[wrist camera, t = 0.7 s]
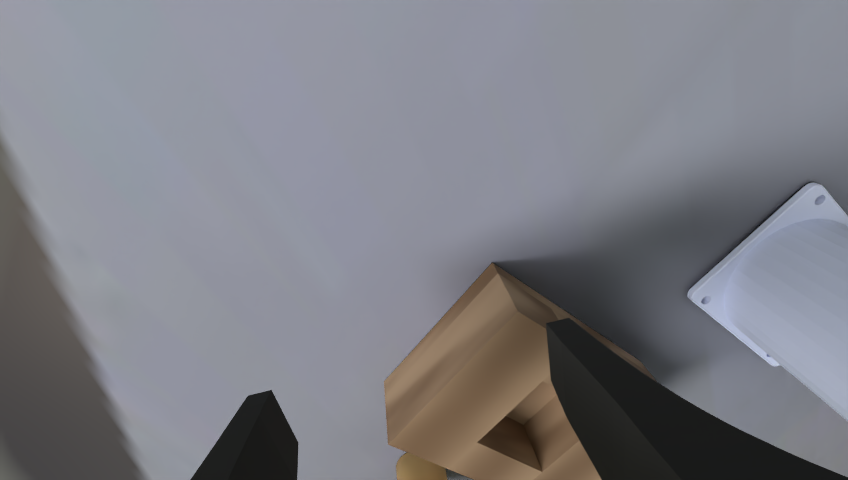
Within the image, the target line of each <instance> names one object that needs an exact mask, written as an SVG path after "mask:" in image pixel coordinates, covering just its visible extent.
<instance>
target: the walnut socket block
mask: <svg viewBox="0 0 848 480" xmlns="http://www.w3.org/2000/svg"><path fill="white" fill-rule="evenodd" d="M566 318H570V319H572V320H573V321H574V322H576V323H577V324H578V325H579V326H581V327H582V328H583V329H585V330H586V331H587V332H588V333H590V334H591V335H592V336H593V337H595V338H596V339H597V340H599V341H600V342H601V343H603V344H604V345H605V346H606V347H608V348H609V349H610V350H612V351H613V352H614V353H616V354H617V355H619V356H620V357H621V358H623V359H624V360H626V361H627V362H628V363H630V364H631V365H633V366H634V367H636V368H637V369H638V370H640V371H641V372H643V373H644V374H646V375H647V376H649V377H650V378H652V379H653V380H655V379H654V378H653V376H652V375H651V374H650V373H649V371H648V370H647V369H646V368H645V366H644V365H643V364H642V363H641V361H639V360H638V359H636V358H635V357H633V356H632V355H630V354H629V353H627V352H626V351H624V350H623V349H621V348H620V347H618V346H617V345H615V344H614V343H612V342H611V341H609V340H608V339H606V338H605V337H603V336H602V335H600V334H599V333H597V332H596V331H594V330H593V329H591V328H590V327H588V326H587V325H585V324H584V323H582V322H581V321H579V320H578V319H576V318H575V317H573V316H572V315H570V314H569V313H567V312H566V311H564V310H563V309H561V308H560V307H558V306H557V305H555V304H554V303H552V302H551V301H549V300H548V299H546V298H545V297H543V296H542V295H540V294H539V293H537V292H536V291H534V290H533V289H531V288H530V287H528V286H527V285H525V284H524V283H522V282H521V281H519V280H518V279H516V278H515V277H513V276H512V275H510V274H509V273H507V272H506V271H504V270H503V269H501V268H500V267H498V266H497V265H495V264H494V263H491V264H490V265H489V267H488V268H487V269H486V270H485V271H484V272H483V273H482V274H481V275H480V277H479V278H478V279H477V280H476V281H475V282H474V283H473V284H472V285H471V286H470V288H469V289H468V290H467V291H466V292H465V293H464V294H463V295H462V296H461V297H460V299H459V300H458V301H457V302H456V303H455V304H454V305H453V306H452V307H451V308H450V310H449V311H448V312H447V313H446V314H445V315H444V316H443V317H442V318H441V319H440V321H439V322H438V323H437V324H436V325H435V326H434V327H433V328H432V329H431V330H430V332H429V333H428V334H427V335H426V336H425V337H424V338H423V339H422V340H421V342H420V343H419V344H418V345H417V346H416V347H415V348H414V349H413V350H412V351H411V353H410V354H409V355H408V356H407V357H406V358H405V359H404V360H403V361H402V362H401V364H400V365H399V366H398V367H397V368H396V369H395V370H394V371H393V372H392V373H391V375H390V376H389V377H388V378H387V379H386V380H385V381H384V388H385V403H386V419H387V434H388V445H391V446H393V447H396V448H398V449H400V450H403V451H405V452H408V453H410V454H413V455H415V456H417V457H420V458H422V459H425V460H427V461H430V462H432V463H434V464H437V465H439V466H442V467H444V468H447V469H449V470H452V471H454V472H456V473H459V474H461V475H464V476H466V477H469V478H471V479H473V480H602V479H601V478H600V476H599V474H598V472H597V471H596V469H595V467H594V465H593V463H592V462H591V460H590V458H589V456H588V455H587V453H586V451H585V449H584V448H583V446H582V444H581V442H580V441H579V439H578V437H577V435H576V433H575V432H574V430H573V428H572V426H571V424H570V423H569V421H568V419H567V417H566V415H565V413H564V410H563V408H562V406H561V403H560V401H559V399H558V396H557V394H556V392H555V389H554V387H553V384H552V382H551V376H550V365H549V354H548V343H547V331H546V323H549V322H553V321H557V320H561V319H566ZM655 381H656V380H655ZM656 382H657V381H656Z"/></svg>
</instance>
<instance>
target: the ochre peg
mask: <svg viewBox="0 0 848 480" xmlns="http://www.w3.org/2000/svg"><path fill="white" fill-rule="evenodd" d="M396 471H397V480H447V475H446V469H445V468H444V467H442V466H439V465H437V464H434V463H432V462H430V461H427V460H425V459H422V458H420V457H417V456H415V455H413V454H410V453H408V452H407V453H405V454H404V455H403V456H402V457H401V458H400V459H399V460H398V462H397V465H396Z"/></svg>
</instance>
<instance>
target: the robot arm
mask: <svg viewBox="0 0 848 480" xmlns="http://www.w3.org/2000/svg"><path fill="white" fill-rule="evenodd" d="M688 298H689V299H690V300H691V301H692V302H694V303H695V304H696V305H697V306H698V307H700V308H701V309H702V310H703V311H705V312H706V313H707V314H708V315H710V316H711V317H712V318H713V319H715V320H716V321H717V322H718V323H720V324H721V325H722V326H723V327H725V328H726V329H727V330H728V331H729V332H731V333H732V334H733V335H734V336H736V337H737V338H738V339H739V340H741V341H742V342H743V343H744V344H746V345H747V346H748V347H749V348H751V349H752V350H753V351H754V352H755V353H757V354H758V355H759V356H760V357H762V358H763V359H764V360H765V361H767V362H768V363H769V364H770V365H772V366H779V365H781V366H783V367H784V368H785V369H786V370H787V371H788V372H790V373H791V374H792V375H793V376H794V377H796V378H797V379H798V380H799V381H800V382H802V383H803V384H804V385H805V386H806V387H807V388H809V389H810V390H811V391H812V392H813V393H815V394H816V395H817V396H818V397H819V398H821V399H822V400H823V401H824V402H825V403H827V404H828V405H829V406H830V407H831V408H832V409H834V410H835V411H836V412H837V413H838V414H840V415H841V416H842V417H843V418H844V419H846V420H847V421H848V216H847V214H846V213H845V212H844V211H843V209H842V208H841V207H840V206H839V205H838V203H837V202H836V201H835V200H834V199H833V197H832V196H831V195H830V194H829V192H828V191H827V190H826V189H825V188H824V186H822V185H820V184H818V183H813V182H812V183H809V184H807V185H805V186H804V187H803V188H802V189H801V190H799V191H798V192H797V193H796V194H795V195H794V196H793V197H792V198H791V199H789V200H788V201H787V202H786V203H785V204H784V205H783V206H782V207H781V208H779V209H778V210H777V211H776V212H775V213H774V214H773V215H772V216H771V217H769V218H768V219H767V220H766V221H765V222H764V223H763V224H762V225H761V226H759V227H758V228H757V229H756V230H755V231H754V232H753V233H752V234H750V235H749V236H748V237H747V238H746V239H745V240H744V241H743V242H742V243H740V244H739V245H738V246H737V247H736V248H735V249H734V250H733V251H732V252H730V253H729V254H728V255H727V256H726V257H725V258H724V259H723V260H722V261H720V262H719V263H718V264H717V265H716V266H715V267H714V268H713V269H712V270H710V271H709V272H708V273H707V274H706V275H705V276H704V277H703V278H702V279H700V280H699V281H698V282H697V283H696V284H695V285H694V286H693V287H692V288H691V289H690V290H689V292H688ZM546 331H547V343H548V354H549V365H550V376H551V382H552V384H553V387H554V389H555V392H556V394H557V396H558V399H559V401H560V403H561V406H562V408H563V410H564V413H565V415H566V417H567V419H568V421H569V423H570V424H571V426H572V428H573V430H574V432H575V433H576V435H577V437H578V439H579V441H580V442H581V444H582V446H583V448H584V449H585V451H586V453H587V455H588V456H589V458H590V460H591V462H592V463H593V465H594V467H595V469H596V471H597V472H598V474H599V476H600V478H601V479H602V480H848V477H845V476H843V475H840V474H838V473H835V472H833V471H831V470H828V469H826V468H823V467H821V466H818V465H816V464H813V463H811V462H809V461H806V460H804V459H802V458H799V457H797V456H795V455H793V454H790V453H788V452H786V451H784V450H782V449H780V448H777V447H775V446H773V445H771V444H769V443H767V442H765V441H762V440H760V439H758V438H756V437H754V436H752V435H750V434H747V433H745V432H743V431H741V430H739V429H737V428H735V427H733V426H731V425H729V424H728V423H726V422H724V421H722V420H720V419H718V418H716V417H715V416H713V415H711V414H709V413H707V412H705V411H704V410H702V409H700V408H698V407H697V406H695V405H693V404H691V403H690V402H688V401H686V400H685V399H683V398H681V397H680V396H678V395H676V394H675V393H673V392H672V391H670V390H669V389H667V388H665V387H664V386H662V385H661V384H659V383H658V382H656V381H655V380H653V379H652V378H650V377H649V376H647V375H646V374H644V373H643V372H641V371H640V370H638V369H637V368H636V367H634V366H633V365H631V364H630V363H628V362H627V361H626V360H624V359H623V358H621V357H620V356H619V355H617V354H616V353H614V352H613V351H612V350H610V349H609V348H608V347H606V346H605V345H604V344H603V343H601V342H600V341H599V340H597V339H596V338H595V337H593V336H592V335H591V334H590V333H588V332H587V331H586V330H585V329H583V328H582V327H581V326H579V325H578V324H577V323H576V322H574V321H573V320H572V319H570V318H566V319H561V320H557V321H553V322H549V323H546ZM297 467H298V441H297V439H296V437H295V435H294V433H293V432H292V430H291V428H290V426H289V424H288V422H287V420H286V418H285V416H284V414H283V412H282V410H281V408H280V406H279V404H278V402H277V400H276V398H275V396H274V394H273V392H272V390H270V391H266V392H262V393H257V394H253V395H249V396H248V397H247V398H246V399H245V401H244V402H243V404H242V405H241V407H240V408H239V410H238V411H237V413H236V414H235V416H234V417H233V419H232V420H231V422H230V423H229V425H228V426H227V428H226V429H225V430H224V432H223V433H222V435H221V436H220V438H219V439H218V441H217V442H216V444H215V445H214V447H213V448H212V450H211V451H210V453H209V454H208V455H207V457H206V458H205V460H204V461H203V463H202V464H201V466H200V467H199V468H198V470H197V471H196V473H195V474H194V476H193V477H192V478H191V480H297Z"/></svg>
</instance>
